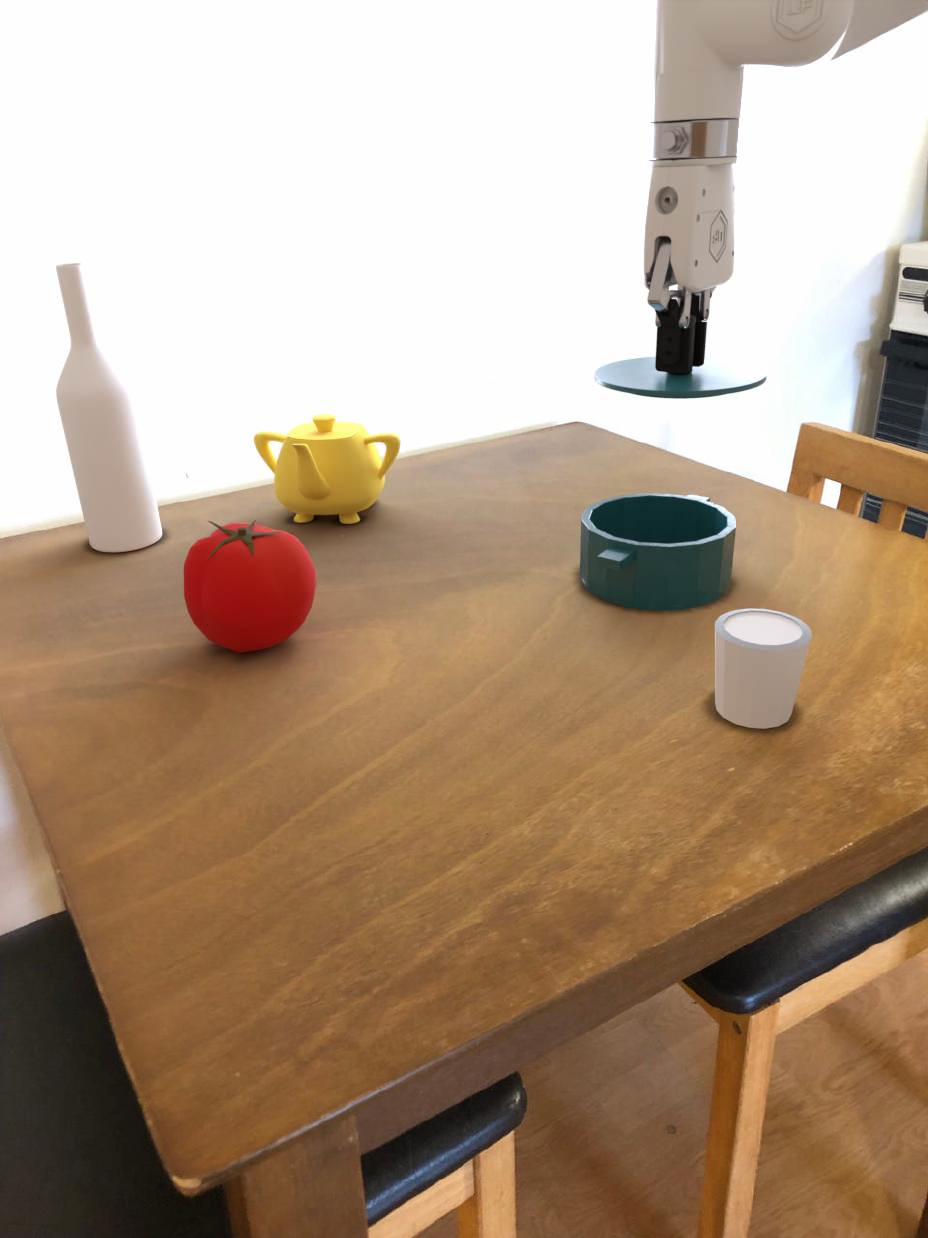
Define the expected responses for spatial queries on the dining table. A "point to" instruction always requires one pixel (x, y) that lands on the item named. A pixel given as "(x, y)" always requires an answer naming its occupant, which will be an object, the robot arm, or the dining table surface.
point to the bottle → (103, 432)
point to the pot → (657, 551)
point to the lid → (681, 377)
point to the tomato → (248, 586)
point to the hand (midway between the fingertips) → (679, 366)
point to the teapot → (328, 467)
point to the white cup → (758, 666)
